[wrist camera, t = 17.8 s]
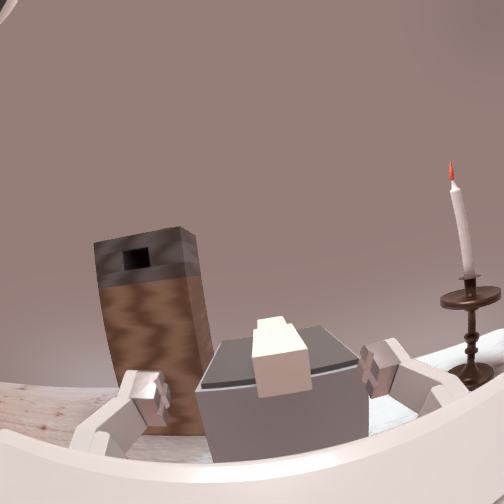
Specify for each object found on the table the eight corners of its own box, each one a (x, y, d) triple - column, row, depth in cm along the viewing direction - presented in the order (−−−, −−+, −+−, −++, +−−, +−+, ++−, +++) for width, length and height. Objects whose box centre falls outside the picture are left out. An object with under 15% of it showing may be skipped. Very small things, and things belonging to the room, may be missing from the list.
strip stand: (133, 433, 36) (93, 240, 38) (153, 408, 45) (122, 245, 48) (217, 434, 35) (179, 223, 38) (224, 406, 45) (195, 233, 48)
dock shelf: (228, 506, 19) (193, 386, 20) (237, 433, 35) (219, 340, 36) (365, 483, 19) (366, 358, 20) (332, 418, 35) (323, 324, 36)
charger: (258, 398, 17) (252, 357, 17) (258, 340, 33) (254, 317, 34) (312, 389, 17) (307, 348, 17) (287, 336, 33) (284, 312, 34)
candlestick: (479, 360, 36) (458, 169, 39) (508, 378, 26) (487, 148, 28) (431, 375, 39) (409, 174, 41) (455, 401, 28) (431, 151, 30)
